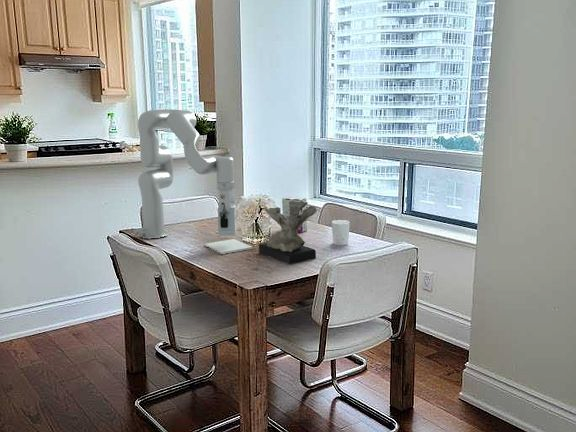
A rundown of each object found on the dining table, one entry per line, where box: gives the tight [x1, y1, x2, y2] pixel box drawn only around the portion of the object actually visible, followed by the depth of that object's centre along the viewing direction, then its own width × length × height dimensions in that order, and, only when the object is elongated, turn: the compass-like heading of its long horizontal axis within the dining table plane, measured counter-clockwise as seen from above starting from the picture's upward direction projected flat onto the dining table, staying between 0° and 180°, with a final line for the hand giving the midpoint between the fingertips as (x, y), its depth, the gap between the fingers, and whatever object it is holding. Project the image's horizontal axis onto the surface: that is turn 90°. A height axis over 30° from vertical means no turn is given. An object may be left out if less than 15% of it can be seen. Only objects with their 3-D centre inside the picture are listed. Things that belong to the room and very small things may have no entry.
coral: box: [258, 201, 318, 265], centre depth 239 cm, size 25×20×22 cm
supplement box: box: [217, 204, 238, 237], centre depth 249 cm, size 7×7×13 cm
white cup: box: [331, 219, 351, 246], centre depth 254 cm, size 8×8×10 cm
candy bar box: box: [281, 196, 308, 234], centre depth 278 cm, size 11×5×16 cm, turn 60°
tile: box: [203, 238, 253, 255], centre depth 251 cm, size 15×17×1 cm
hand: (227, 225), depth 249 cm, fingers closed on supplement box, 8 cm apart
